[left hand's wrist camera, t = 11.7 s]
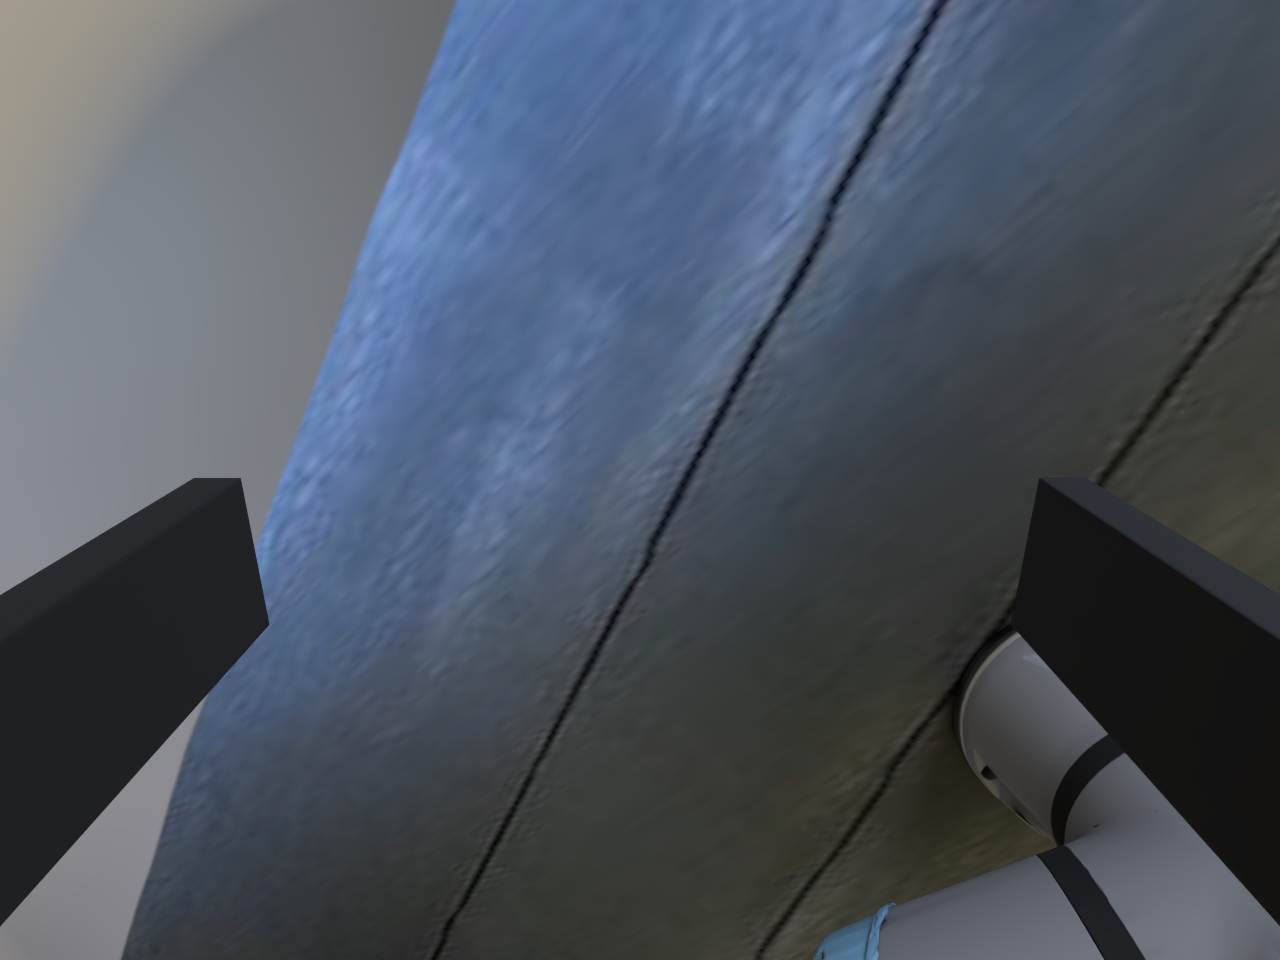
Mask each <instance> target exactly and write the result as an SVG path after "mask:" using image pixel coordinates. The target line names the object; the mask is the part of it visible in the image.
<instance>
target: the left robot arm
mask: <svg viewBox="0 0 1280 960" xmlns="http://www.w3.org/2000/svg"><path fill="white" fill-rule="evenodd" d="M268 626H269V620H268V615H267V610H266V605H265V600H264V595H263V590H262V585H261V579H260V574H259V569H258V564H257V559H256V554H255V549H254V544H253V539H252V534H251V528H250V523H249V518H248V513H247V508H246V503H245V498H244V493H243V488H242V482H241V478H193V479H192V480H190V481H188V482H187V483H185V484H184V485H182V486H180V487H179V488H177V489H175V490H174V491H172V492H170V493H169V494H167V495H165V496H164V497H162V498H160V499H159V500H157V501H155V502H154V503H152V504H151V505H149V506H147V507H145V508H144V509H142V510H140V511H139V512H137V513H136V514H134V515H132V516H131V517H129V518H127V519H126V520H124V521H122V522H121V523H119V524H117V525H116V526H114V527H112V528H111V529H109V530H107V531H106V532H104V533H102V534H101V535H99V536H97V537H96V538H94V539H93V540H91V541H89V542H87V543H86V544H84V545H82V546H81V547H79V548H78V549H76V550H74V551H73V552H71V553H69V554H68V555H66V556H64V557H63V558H61V559H59V560H58V561H56V562H54V563H53V564H51V565H49V566H48V567H46V568H44V569H43V570H41V571H39V572H38V573H36V574H35V575H33V576H31V577H29V578H28V579H26V580H24V581H23V582H21V583H20V584H18V585H16V586H15V587H13V588H11V589H10V590H8V591H6V592H5V593H3V594H1V595H0V926H1V925H2V924H3V923H4V922H5V920H6V919H7V918H8V917H9V916H10V915H11V914H12V913H13V911H14V910H15V909H16V908H17V907H18V906H19V905H20V904H21V902H22V901H23V900H24V899H25V898H26V897H27V896H28V895H29V893H30V892H31V891H32V890H33V889H34V888H35V887H36V886H37V885H38V883H39V882H40V881H41V880H42V879H43V878H44V877H45V875H46V874H47V873H48V872H49V871H50V870H51V869H52V868H53V867H54V865H55V864H56V863H57V862H58V861H59V860H60V859H61V858H62V856H63V855H64V854H65V853H66V852H67V851H68V850H69V849H70V848H71V846H72V845H73V844H74V843H75V842H76V841H77V840H78V839H79V837H80V836H81V835H82V834H83V833H84V832H85V831H86V830H87V828H88V827H89V826H90V825H91V824H92V823H93V822H94V821H95V819H96V818H97V817H98V816H99V815H100V814H101V813H102V812H103V810H104V809H105V808H106V807H107V806H108V805H109V804H110V803H111V802H112V800H113V799H114V798H115V797H116V796H117V795H118V794H119V793H120V791H121V790H122V789H123V788H124V787H125V786H126V785H127V784H128V782H129V781H130V780H131V779H132V778H133V777H134V776H135V775H136V774H137V772H138V771H139V770H140V769H141V768H142V767H143V766H144V765H145V763H146V762H147V761H148V760H149V759H150V758H151V757H152V756H153V754H154V753H155V752H156V751H157V750H158V749H159V748H160V747H161V745H162V744H163V743H164V742H165V741H166V740H167V739H168V738H169V737H170V735H171V734H172V733H173V732H174V731H175V730H176V729H177V728H178V726H179V725H180V724H181V723H182V722H183V721H184V720H185V719H186V717H187V716H188V715H189V714H190V713H191V712H192V711H193V710H194V708H195V707H196V706H197V705H198V704H199V703H200V702H201V701H202V700H203V698H204V697H205V696H206V695H207V694H208V693H209V692H210V691H211V689H212V688H213V687H214V686H215V685H216V684H217V683H218V682H219V680H220V679H221V678H222V677H223V676H224V675H225V674H226V673H227V671H228V670H229V669H230V668H231V667H232V666H233V665H234V664H235V663H236V661H237V660H238V659H239V658H240V657H241V656H242V655H243V654H244V652H245V651H246V650H247V649H248V648H249V647H250V646H251V645H252V643H253V642H254V641H255V640H256V639H257V638H258V637H259V636H260V634H261V633H262V632H263V631H264V630H265V629H266V628H267V627H268ZM953 724H954V731H955V735H956V739H957V742H958V745H959V747H960V749H961V751H962V753H963V755H964V756H965V758H966V760H967V761H968V763H969V765H970V766H971V768H972V770H973V772H974V773H975V774H976V776H977V777H978V778H979V779H980V780H981V781H982V783H983V784H984V785H985V786H986V787H987V788H988V790H989V791H990V792H991V793H992V794H993V795H995V796H996V797H997V798H998V799H999V800H1000V801H1002V802H1003V803H1004V804H1005V805H1007V806H1008V807H1009V808H1011V809H1012V810H1013V811H1014V812H1016V813H1017V814H1018V815H1019V816H1021V817H1022V818H1023V819H1024V820H1026V821H1027V822H1028V823H1029V824H1031V825H1032V826H1033V827H1035V828H1036V829H1037V830H1038V831H1040V832H1041V833H1042V834H1043V835H1045V836H1046V837H1047V838H1048V839H1050V840H1051V841H1052V842H1053V843H1055V844H1056V845H1057V847H1056V848H1054V849H1051V850H1048V851H1046V852H1043V853H1040V854H1037V855H1033V856H1030V857H1028V858H1025V859H1022V860H1019V861H1017V862H1014V863H1011V864H1009V865H1006V866H1003V867H1000V868H998V869H995V870H992V871H989V872H987V873H984V874H981V875H978V876H976V877H973V878H970V879H967V880H965V881H962V882H959V883H957V884H954V885H951V886H948V887H946V888H943V889H940V890H937V891H935V892H932V893H929V894H926V895H924V896H921V897H918V898H916V899H913V900H910V901H907V902H904V903H901V904H898V905H896V904H895V903H888V904H886V905H884V906H882V907H881V908H880V909H879V910H878V912H877V913H875V914H872V915H870V916H868V917H866V918H863V919H861V920H859V921H857V922H854V923H852V924H850V925H848V926H846V927H843V928H841V929H839V930H836V931H834V932H832V933H831V934H829V935H828V936H827V937H826V938H825V939H824V940H823V941H822V942H821V943H820V945H819V946H818V948H817V949H816V952H815V954H814V957H813V960H1280V595H1279V594H1277V593H1275V592H1274V591H1272V590H1270V589H1269V588H1267V587H1265V586H1264V585H1262V584H1260V583H1259V582H1257V581H1256V580H1254V579H1252V578H1251V577H1249V576H1247V575H1246V574H1244V573H1242V572H1241V571H1239V570H1237V569H1236V568H1234V567H1232V566H1231V565H1229V564H1227V563H1226V562H1224V561H1222V560H1221V559H1219V558H1217V557H1216V556H1214V555H1212V554H1211V553H1209V552H1207V551H1206V550H1204V549H1202V548H1201V547H1199V546H1198V545H1196V544H1194V543H1193V542H1191V541H1189V540H1188V539H1186V538H1184V537H1183V536H1181V535H1179V534H1178V533H1176V532H1174V531H1173V530H1171V529H1169V528H1168V527H1166V526H1164V525H1163V524H1161V523H1159V522H1158V521H1156V520H1154V519H1153V518H1151V517H1149V516H1148V515H1146V514H1145V513H1143V512H1141V511H1140V510H1138V509H1136V508H1135V507H1133V506H1131V505H1130V504H1128V503H1126V502H1125V501H1123V500H1121V499H1120V498H1118V497H1116V496H1115V495H1113V494H1111V493H1110V492H1108V491H1106V490H1105V489H1103V488H1101V487H1100V486H1098V485H1096V484H1095V483H1093V482H1092V481H1090V480H1088V479H1087V478H1039V482H1038V487H1037V493H1036V498H1035V503H1034V508H1033V513H1032V518H1031V523H1030V528H1029V533H1028V539H1027V544H1026V549H1025V554H1024V559H1023V564H1022V569H1021V574H1020V579H1019V585H1018V590H1017V595H1016V600H1015V605H1014V610H1013V615H1012V620H1011V624H1010V625H1008V626H1007V627H1005V628H1004V629H1003V630H1001V631H1000V632H999V633H998V634H997V635H995V636H994V637H993V638H992V639H991V640H990V641H989V642H988V643H987V644H986V645H985V646H984V647H983V648H982V649H981V650H980V651H979V653H978V654H977V655H976V656H975V658H974V659H973V661H972V662H971V663H970V665H969V666H968V668H967V670H966V672H965V674H964V675H963V678H962V680H961V682H960V684H959V687H958V690H957V693H956V697H955V702H954V711H953ZM1013 811H1012V812H1013ZM1018 815H1017V816H1018ZM1019 816H1018V817H1019ZM1023 819H1022V820H1023ZM1024 820H1023V821H1024ZM1024 822H1025V821H1024ZM1029 824H1028V825H1029ZM1029 826H1030V825H1029ZM1033 829H1034V828H1033ZM1034 830H1035V829H1034ZM1035 831H1036V830H1035ZM1039 834H1040V833H1039ZM1040 835H1041V834H1040Z"/></svg>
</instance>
